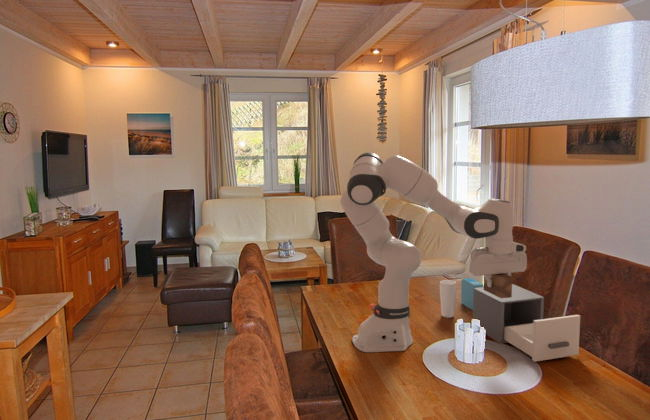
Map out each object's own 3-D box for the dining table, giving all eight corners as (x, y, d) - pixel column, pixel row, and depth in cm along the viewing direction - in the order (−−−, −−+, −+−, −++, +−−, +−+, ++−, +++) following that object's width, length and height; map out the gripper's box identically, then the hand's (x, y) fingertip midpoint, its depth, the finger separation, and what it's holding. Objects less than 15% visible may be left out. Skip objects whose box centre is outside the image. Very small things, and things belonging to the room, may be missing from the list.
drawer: (537, 363, 148) (538, 323, 146) (500, 340, 166) (501, 304, 164) (581, 356, 152) (583, 317, 150) (540, 334, 170) (542, 299, 168)
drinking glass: (457, 314, 196) (457, 280, 194) (454, 319, 190) (454, 284, 188) (441, 312, 199) (441, 279, 197) (438, 317, 193) (438, 283, 191)
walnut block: (501, 298, 151) (501, 277, 150) (483, 289, 160) (484, 270, 159) (511, 297, 152) (512, 276, 151) (493, 288, 161) (494, 269, 160)
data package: (483, 311, 200) (483, 284, 198) (473, 311, 199) (474, 285, 197) (469, 302, 211) (470, 277, 210) (460, 303, 211) (461, 278, 209)
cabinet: (500, 343, 166) (501, 302, 164) (472, 325, 183) (473, 288, 181) (542, 337, 170) (544, 297, 168) (511, 320, 187) (512, 283, 185)
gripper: (476, 250, 148) (475, 291, 150) (530, 246, 153) (529, 285, 155) (466, 246, 154) (465, 286, 156) (518, 242, 159) (516, 280, 161)
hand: (497, 285), depth 155 cm, fingers closed on walnut block, 4 cm apart
